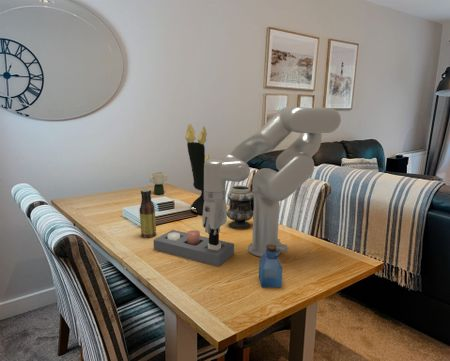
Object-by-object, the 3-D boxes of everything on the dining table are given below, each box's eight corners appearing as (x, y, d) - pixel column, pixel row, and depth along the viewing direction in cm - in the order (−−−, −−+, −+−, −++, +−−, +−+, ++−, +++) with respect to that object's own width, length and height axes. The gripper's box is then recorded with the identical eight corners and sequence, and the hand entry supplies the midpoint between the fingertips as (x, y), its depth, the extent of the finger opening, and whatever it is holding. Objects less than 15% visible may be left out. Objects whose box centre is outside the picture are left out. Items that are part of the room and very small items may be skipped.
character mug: (165, 191, 214) (165, 171, 211) (169, 194, 208) (169, 173, 205) (148, 193, 209) (147, 172, 206) (152, 196, 203) (151, 174, 200)
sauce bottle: (149, 231, 148) (148, 186, 144) (159, 235, 144) (158, 189, 140) (137, 235, 143) (135, 189, 139) (146, 239, 139) (145, 192, 135)
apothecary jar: (256, 223, 159) (258, 186, 155) (246, 232, 149) (247, 192, 145) (233, 219, 165) (234, 183, 161) (221, 227, 154) (222, 188, 150)
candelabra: (232, 211, 177) (234, 123, 167) (201, 221, 161) (201, 124, 151) (207, 203, 190) (207, 121, 180) (176, 212, 174) (174, 122, 164)
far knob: (182, 245, 134) (182, 233, 133) (175, 249, 130) (175, 237, 129) (172, 242, 136) (172, 231, 135) (165, 247, 132) (164, 235, 131)
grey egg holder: (234, 253, 128) (234, 243, 127) (218, 266, 117) (218, 255, 116) (172, 238, 140) (172, 229, 139) (153, 249, 130) (153, 239, 129)
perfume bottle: (277, 277, 111) (279, 242, 108) (281, 287, 105) (283, 250, 102) (258, 277, 111) (260, 242, 108) (261, 287, 105) (262, 250, 102)
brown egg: (202, 243, 129) (202, 231, 128) (195, 248, 125) (195, 236, 124) (191, 241, 131) (191, 229, 130) (184, 245, 127) (184, 233, 126)
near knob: (223, 255, 126) (223, 242, 125) (216, 260, 122) (217, 247, 121) (211, 252, 128) (212, 240, 127) (205, 257, 124) (205, 245, 123)
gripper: (213, 201, 111) (212, 254, 115) (233, 191, 124) (232, 239, 128) (193, 198, 115) (193, 249, 119) (215, 189, 128) (214, 235, 132)
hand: (213, 244), depth 124 cm, fingers closed
